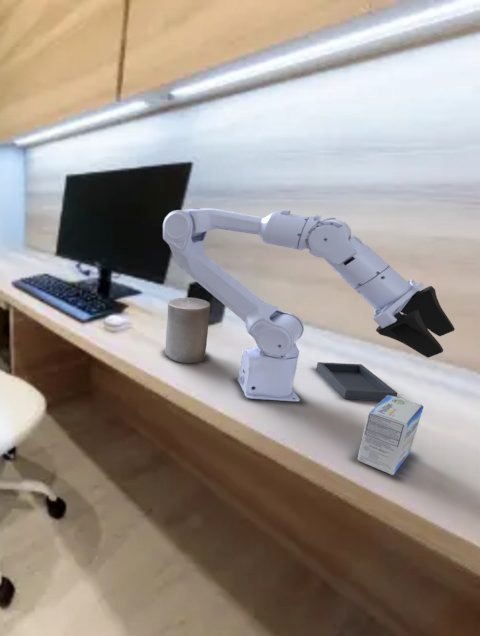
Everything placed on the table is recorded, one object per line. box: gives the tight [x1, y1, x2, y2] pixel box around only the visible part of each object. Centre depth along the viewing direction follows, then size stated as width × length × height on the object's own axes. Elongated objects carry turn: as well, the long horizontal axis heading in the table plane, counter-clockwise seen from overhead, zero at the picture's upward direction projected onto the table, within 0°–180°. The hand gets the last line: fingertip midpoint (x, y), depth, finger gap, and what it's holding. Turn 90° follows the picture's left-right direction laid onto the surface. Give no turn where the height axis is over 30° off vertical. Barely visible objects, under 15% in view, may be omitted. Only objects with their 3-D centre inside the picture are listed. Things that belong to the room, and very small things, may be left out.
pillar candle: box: [164, 297, 211, 364], centre depth 93 cm, size 10×10×15 cm
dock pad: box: [315, 361, 399, 402], centre depth 78 cm, size 9×13×2 cm
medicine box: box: [357, 395, 424, 476], centre depth 57 cm, size 8×4×9 cm, turn 126°
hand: (441, 343), depth 58 cm, fingers open, 7 cm apart
